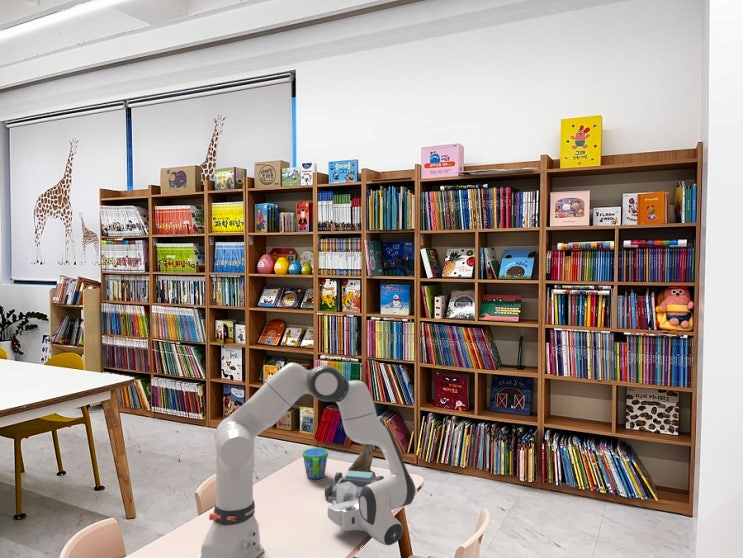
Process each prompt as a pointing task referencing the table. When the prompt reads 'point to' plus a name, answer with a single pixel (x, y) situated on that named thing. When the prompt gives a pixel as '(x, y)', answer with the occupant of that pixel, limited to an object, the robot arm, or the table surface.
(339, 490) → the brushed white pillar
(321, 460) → the snack cup
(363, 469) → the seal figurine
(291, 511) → the table surface
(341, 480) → the toy truck
